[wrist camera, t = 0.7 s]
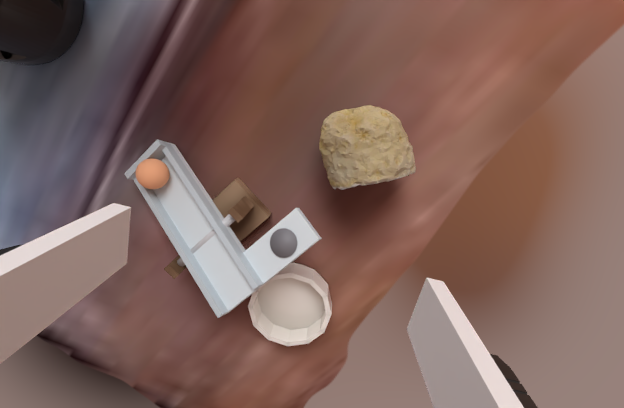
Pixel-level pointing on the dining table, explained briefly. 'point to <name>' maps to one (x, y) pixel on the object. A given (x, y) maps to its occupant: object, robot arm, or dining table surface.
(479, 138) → the dining table surface
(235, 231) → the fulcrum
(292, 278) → the bowl
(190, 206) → the lever
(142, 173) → the ball
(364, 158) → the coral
